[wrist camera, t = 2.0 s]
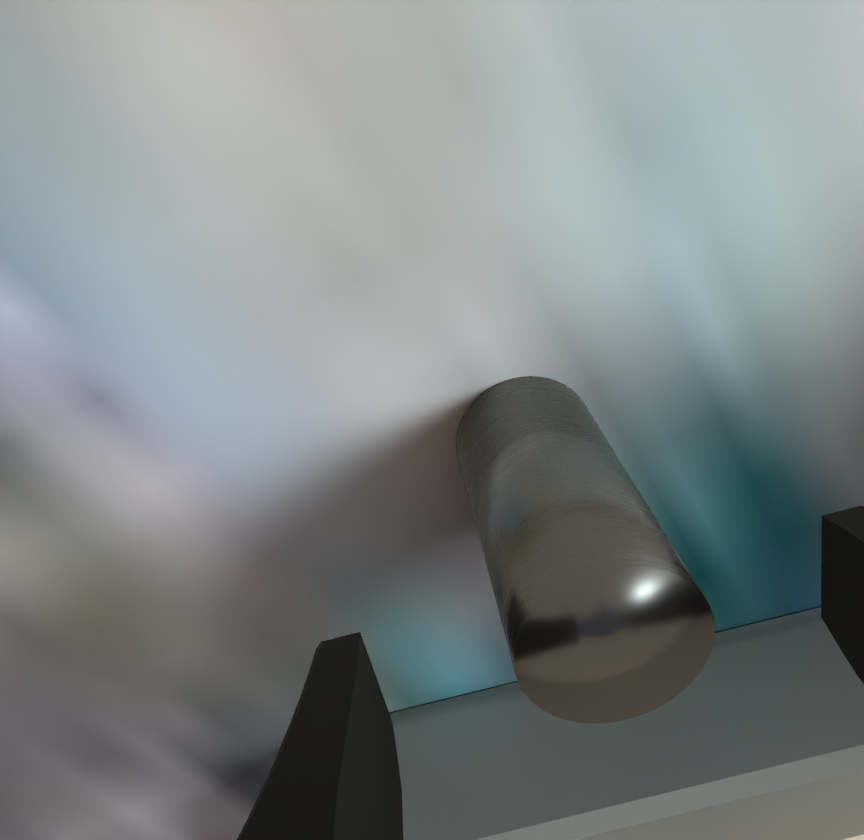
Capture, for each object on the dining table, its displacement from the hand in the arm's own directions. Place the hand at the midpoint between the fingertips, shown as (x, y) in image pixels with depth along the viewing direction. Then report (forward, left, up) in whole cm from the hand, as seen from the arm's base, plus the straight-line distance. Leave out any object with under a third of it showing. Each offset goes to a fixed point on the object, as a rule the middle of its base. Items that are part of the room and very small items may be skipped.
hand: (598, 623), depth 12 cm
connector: (0, 0, -6) cm, 6 cm away
